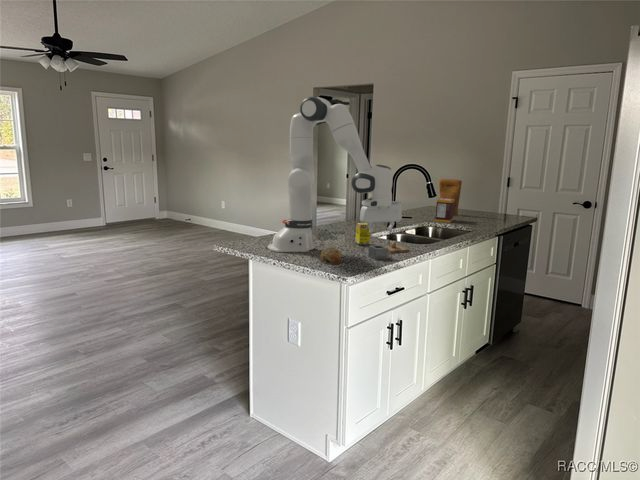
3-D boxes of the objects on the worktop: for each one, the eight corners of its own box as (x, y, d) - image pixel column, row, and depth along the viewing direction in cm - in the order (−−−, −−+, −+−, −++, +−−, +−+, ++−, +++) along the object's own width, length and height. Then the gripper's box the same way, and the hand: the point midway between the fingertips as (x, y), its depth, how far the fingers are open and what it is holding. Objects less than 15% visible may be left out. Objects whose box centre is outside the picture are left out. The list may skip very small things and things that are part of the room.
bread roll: (317, 269, 202) (315, 255, 197) (325, 255, 209) (323, 241, 205) (339, 272, 198) (337, 258, 194) (346, 258, 206) (344, 243, 201)
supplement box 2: (453, 220, 338) (455, 198, 334) (449, 222, 324) (451, 200, 321) (438, 218, 342) (440, 197, 338) (434, 221, 328) (436, 199, 325)
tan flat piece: (389, 253, 222) (390, 244, 221) (378, 248, 232) (378, 240, 231) (409, 251, 226) (409, 243, 226) (397, 247, 236) (397, 239, 235)
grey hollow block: (375, 259, 208) (375, 248, 207) (368, 256, 214) (368, 245, 213) (387, 258, 211) (388, 248, 210) (380, 255, 216) (380, 245, 215)
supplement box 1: (359, 245, 236) (360, 224, 234) (355, 243, 242) (356, 222, 240) (369, 245, 238) (371, 224, 236) (365, 243, 244) (366, 222, 241)
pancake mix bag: (456, 216, 355) (459, 180, 350) (435, 213, 368) (438, 178, 363) (460, 216, 360) (464, 179, 354) (439, 212, 373) (442, 178, 368)
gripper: (397, 200, 214) (396, 229, 216) (358, 201, 206) (357, 231, 209) (405, 201, 208) (403, 231, 211) (365, 203, 200) (364, 234, 203)
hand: (380, 231), depth 210 cm, fingers open, 8 cm apart
